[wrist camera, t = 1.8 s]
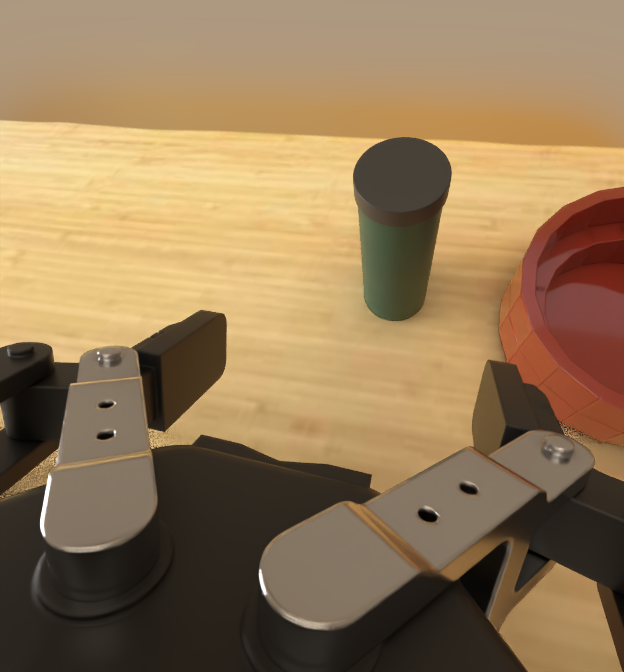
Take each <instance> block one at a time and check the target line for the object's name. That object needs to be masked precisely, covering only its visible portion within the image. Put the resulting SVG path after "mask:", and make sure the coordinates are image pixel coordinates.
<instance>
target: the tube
mask: <svg viewBox="0 0 624 672" xmlns="http://www.w3.org/2000/svg"><path fill="white" fill-rule="evenodd" d="M451 175H452V172H451V166H450V163H449V161H448V158H447V157H446V155H445V154H444V153H443V152H442V151H441V150H440V149H439V148H438V147H436V146H435V145H433V144H432V143H429V142H427V141H424V140H421V139H417V138H410V137H401V138H393V139H388V140H385V141H382V142H380V143H378V144H376V145H374V146H372V147H371V148H369V149H368V150H367V151H366V152H365V153H364V154H363V155H362V156H361V157H360V159H359V160H358V162H357V164H356V166H355V169H354V173H353V184H354V196H355V200H356V203H357V205H358V212H359V226H360V241H361V255H362V270H363V284H364V297H365V302H366V304H367V306H368V308H369V309H370V310H371V311H372V312H373V313H374V314H375V315H377V316H378V317H380V318H383V319H386V320H391V321H398V320H404V319H407V318H409V317H411V316H413V315H414V314H416V313H417V312H418V311H419V310H420V308H421V307H422V305H423V303H424V300H425V296H426V291H427V285H428V280H429V275H430V270H431V264H432V259H433V254H434V249H435V243H436V238H437V233H438V228H439V222H440V217H441V212H442V207H443V205H444V204H445V202H446V199H447V196H448V192H449V187H450V182H451Z"/></svg>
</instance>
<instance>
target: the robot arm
mask: <svg viewBox="0 0 624 672" xmlns="http://www.w3.org/2000/svg"><path fill="white" fill-rule="evenodd" d="M226 332H227V322H226V317H225V315H224V314H222V313H216V312H211V311H205V310H200V311H198V312H196V313H195V314H193V315H191V316H190V317H188V318H187V319H185V320H183V321H182V322H179V323H176V324H172V325H169V326H167V327H165V328H164V329H162V330H160V331H159V333H155V334H154V335H152V336H151V337H150V338H147V339H145V340H143V341H142V342H140V343H138V344H137V345H135V346H133V347H132V348H129V347H124V346H106V347H100V348H96V349H93V350H90V351H88V352H86V353H84V354H83V355H82V356H81V358H80V363H61V362H54V357H53V351H52V347H51V346H49V345H47V344H44V343H37V342H22V343H16V344H12V345H8V346H5V347H2V348H0V405H1V409H2V414H3V419H4V424H5V428H4V429H2V430H1V431H0V495H2V494H3V493H4V492H5V491H6V490H8V489H9V488H10V487H11V486H13V485H14V484H15V483H16V482H17V481H19V480H20V479H21V478H22V477H24V476H25V475H26V474H27V473H29V472H30V471H31V470H32V469H33V468H35V467H36V466H37V465H38V464H40V463H41V462H42V461H43V460H44V459H46V458H47V457H48V456H49V455H51V454H52V453H53V452H54V451H55V450H57V449H58V448H59V450H58V456H57V462H56V466H55V467H52V468H51V469H50V472H49V476H48V481H47V484H46V485H43V486H40V487H37V488H34V489H31V490H28V491H25V492H22V493H19V494H16V495H13V496H10V497H7V498H4V499H1V500H0V672H528V671H527V670H526V668H525V667H524V666H523V664H522V663H521V662H520V661H519V659H518V658H517V657H516V655H515V654H514V653H513V651H512V650H511V649H510V647H509V646H508V645H507V643H506V642H505V641H504V639H503V638H502V637H501V635H500V634H499V633H498V631H499V629H500V627H501V625H502V624H503V622H504V620H505V618H506V617H507V615H508V614H509V613H510V611H511V610H512V609H513V608H514V607H515V606H516V605H517V604H518V603H519V602H520V601H521V600H522V599H523V598H524V597H525V596H526V595H527V594H528V593H529V592H530V591H531V589H532V588H533V587H534V586H535V585H536V584H537V583H538V582H539V581H540V580H541V579H542V578H543V577H544V576H545V575H546V574H547V573H548V572H549V571H550V570H551V569H552V568H553V567H554V565H555V563H556V562H557V563H559V564H561V565H563V566H565V567H567V568H569V569H571V570H573V571H575V572H577V573H579V574H581V575H583V576H585V577H588V578H590V579H592V580H594V581H596V582H597V588H598V592H599V595H600V598H601V602H602V605H603V608H604V612H605V615H606V618H607V622H608V625H609V628H610V632H611V635H612V638H613V641H614V645H615V648H616V651H617V655H618V658H619V661H620V665H621V668H622V671H623V672H624V482H623V481H621V480H618V479H616V478H613V477H610V476H608V475H606V474H603V473H601V472H599V471H597V470H595V469H594V468H593V466H594V463H595V459H594V456H593V455H592V453H591V452H590V451H589V450H588V449H587V448H586V447H585V446H583V445H582V444H581V443H579V442H578V441H576V440H574V439H572V438H570V437H568V436H565V435H564V432H563V430H562V428H561V426H560V424H559V422H558V420H557V417H556V416H555V413H554V411H553V409H552V407H551V405H550V402H549V400H548V398H547V396H546V395H545V394H544V393H543V392H542V391H541V390H539V389H538V388H537V387H536V386H535V385H532V384H527V383H523V380H522V378H521V375H520V373H519V370H518V368H517V365H516V364H510V363H504V362H498V361H493V360H488V361H487V363H486V365H485V368H484V372H483V376H482V380H481V384H480V388H479V392H478V396H477V400H476V404H475V408H474V413H473V419H472V434H473V442H474V447H471V446H469V447H466V448H464V449H462V450H460V451H458V452H456V453H454V454H453V455H451V456H449V457H447V458H445V459H444V460H442V461H440V462H438V463H436V464H434V465H433V466H431V467H429V468H427V469H425V470H424V471H422V472H420V473H418V474H416V475H414V476H413V477H411V478H409V479H407V480H405V481H404V482H402V483H400V484H398V485H396V486H395V487H393V488H391V489H389V490H387V491H385V492H384V493H382V494H381V493H379V492H377V491H375V490H373V489H371V488H370V483H371V477H372V475H371V474H367V473H362V472H358V471H354V470H350V469H345V468H341V467H337V466H333V465H328V464H316V463H300V462H285V461H279V460H276V459H273V458H271V457H269V456H267V455H264V454H262V453H260V452H258V451H256V450H253V449H251V448H249V447H247V446H244V445H242V444H239V443H235V442H231V441H227V440H222V439H218V438H214V437H210V436H205V435H201V436H200V437H199V438H198V439H197V440H196V441H195V442H194V443H193V445H172V446H164V447H158V448H154V449H151V448H150V440H149V432H148V428H150V429H154V430H158V431H162V432H165V431H166V430H167V429H168V428H169V427H170V426H171V425H172V424H173V423H174V422H175V421H176V420H177V419H178V418H179V417H180V416H181V415H182V414H183V413H185V412H186V411H187V410H188V409H189V408H190V407H191V406H192V405H193V404H194V403H195V402H196V401H197V400H198V399H199V398H200V397H201V396H202V395H203V394H204V393H205V392H206V391H207V390H208V389H209V388H210V387H211V386H212V385H213V384H214V383H215V382H216V381H217V380H218V379H219V378H220V377H221V376H222V374H223V372H224V369H225V365H226Z"/></svg>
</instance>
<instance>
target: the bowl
mask: <svg viewBox="0 0 624 672" xmlns="http://www.w3.org/2000/svg"><path fill="white" fill-rule="evenodd" d="M499 334H500V338H501V341H502V345H503V349H504V352H505V356H506V359H507V363H510V364H516V365H517V368H518V370H519V373H520V375H521V378H522V380H523V383H527V384H532V385H535V386H536V387H537V388H538V389H539V390H541V391H542V392H543V393H544V394H545V395H546V396H547V398H548V400H549V402H550V405H551V407H552V409H553V411H554V413H555V416H556V417H557V419H558V420H559V421H561V422H562V423H563V424H566V425H568V426H570V427H572V428H574V429H576V430H578V431H580V432H582V433H584V434H586V435H588V436H591V437H593V438H595V439H597V440H599V441H601V442H605V443H610V444H615V445H621V446H624V187H620V188H613V189H607V190H600V191H597V192H595V193H592V194H590V195H588V196H585V197H583V198H581V199H579V200H576V201H574V202H572V203H570V204H567V205H565V206H563V207H562V208H561V209H560V210H559V211H558V212H556V213H555V214H554V215H553V216H552V217H551V218H550V219H549V220H548V221H546V222H545V223H544V224H543V225H542V226H541V227H540V228H539V229H538V230H537V232H536V234H535V236H534V237H533V239H532V241H531V243H530V245H529V247H528V249H527V251H526V253H525V255H524V257H523V259H522V260H521V262H520V264H519V266H518V268H517V270H516V272H515V274H514V276H513V278H512V280H511V282H510V284H509V286H508V288H507V290H506V292H505V294H504V296H503V298H502V301H501V310H500V321H499Z"/></svg>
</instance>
